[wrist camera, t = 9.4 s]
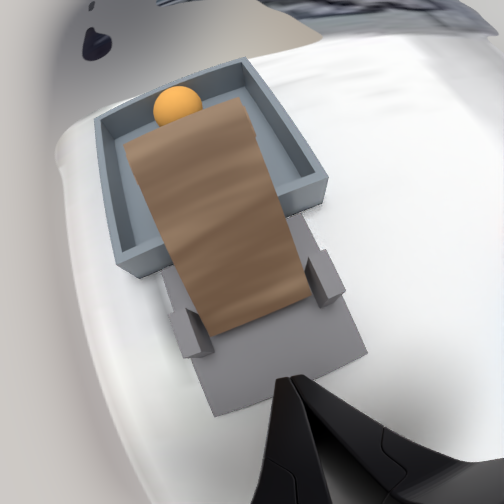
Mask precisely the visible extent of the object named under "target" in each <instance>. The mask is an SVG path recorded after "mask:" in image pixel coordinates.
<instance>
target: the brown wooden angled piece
mask: <svg viewBox="0 0 504 504" xmlns="http://www.w3.org/2000/svg"><path fill="white" fill-rule="evenodd" d="M255 137H256V133H255V131H254V128H253V125H252V123H251V120H250V118H249V115H248V113H247V110H246V108H245V106H243V105H242V103H241V101H240V98H239V97H236V98H234V99H231V100H228V101H225V102H222V103H219V104H216V105H214V106H211V107H208V108H206V109H203V110H200V111H198V112H195V113H193V114H190V115H188V116H185V117H183V118H180V119H178V120H176V121H173V122H171V123H168V124H166V125H164V126H162V127H159V128H157V129H155V130H153V131H150V132H148V133H146V134H144V135H142V136H140V137H137V138H135V139H133V140H131V141H129V142H127V143H125V144H123V147H124V149H125V152H126V154H127V155H126V157H127V160H128V163H129V165H130V168H131V170H132V173H133V175H134V178H135V180H136V182H137V185H139V187H140V189H141V192H142V194H143V196H144V199H145V201H146V203H147V206H148V208H149V210H150V213H151V215H152V217H153V220H154V222H155V224H156V226H157V229H158V231H159V233H160V235H161V238H162V240H163V242H164V244H165V246H166V248H167V251H168V253H169V255H170V257H171V259H172V261H173V263H174V266H175V268H176V270H177V272H178V274H179V276H180V278H181V280H182V282H183V284H184V286H185V288H186V290H187V292H188V294H189V296H190V298H191V300H192V302H193V304H194V306H195V308H196V310H197V312H198V314H199V316H200V318H201V320H202V322H203V324H204V326H205V328H206V330H207V331H208V333H209V335H210V337H212V336H215V335H217V334H220V333H223V332H225V331H228V330H230V329H233V328H235V327H238V326H240V325H243V324H245V323H248V322H250V321H253V320H255V319H257V318H260V317H262V316H265V315H267V314H269V313H272V312H274V311H277V310H279V309H281V308H284V307H286V306H288V305H291V304H293V303H295V302H297V301H300V300H302V299H304V298H307V297H309V296H311V295H312V294H311V291H310V288H309V285H308V282H307V279H306V276H305V273H304V270H303V267H302V264H301V261H300V258H299V255H298V252H297V249H296V246H295V244H294V241H293V238H292V235H291V232H290V229H289V226H288V224H287V221H286V218H285V215H284V213H283V210H282V207H281V204H280V201H279V199H278V196H277V193H276V191H275V188H274V185H273V183H272V180H271V177H270V175H269V172H268V169H267V167H266V164H265V161H264V159H263V156H262V153H261V151H260V148H259V146H258V143H257V141H256V138H255Z"/></svg>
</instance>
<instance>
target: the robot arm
mask: <svg viewBox="0 0 504 504" xmlns="http://www.w3.org/2000/svg"><path fill="white" fill-rule="evenodd" d="M383 427H384V426H383V425H382V424H380V423H378V422H377V421H375V420H373V419H372V418H370V417H369V416H367V415H365V414H364V413H362V412H360V411H359V410H357V409H356V408H354V407H353V406H351V405H349V404H348V403H346V402H345V401H343V400H342V399H340V398H338V397H337V396H335V395H334V394H332V393H331V392H329V391H328V390H326V389H325V388H323V387H322V386H320V385H319V384H317V383H316V382H314V381H313V380H311V379H310V378H308V377H307V376H305V375H303V374H299V375H293V376H291V377H290V378H289V377H282V378H277V379H276V380H275V386H274V393H273V400H272V406H271V413H270V419H269V426H268V432H267V438H266V444H265V450H264V456H263V460H262V466H261V471H260V476H259V480H258V484H257V487H256V490H255V493H254V496H253V498H252V501H251V503H250V504H504V458H500V459H495V460H489V461H483V462H465V461H460V460H457V459H454V458H452V457H449V456H446V455H444V454H441V453H439V452H436V451H434V450H431V449H429V448H426V447H424V446H421V445H419V444H417V443H415V442H413V441H410V440H408V439H406V438H405V437H403V436H401V435H399V434H397V433H395V432H394V431H392V430H390V429H389V428H387V427H384V428H383Z"/></svg>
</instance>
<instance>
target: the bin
mask: <svg viewBox="0 0 504 504" xmlns="http://www.w3.org/2000/svg"><path fill="white" fill-rule="evenodd" d="M175 86H183V87H187V88H190V89H192V90H193V91H195V92H196V93H197V94H198V96H199V97H200V99H201V102H202V106H203V109H206V108H208V107H211V106H214V105H216V104H219V103H222V102H225V101H228V100H231V99H234V98H236V97H239V98H240V101H241V103H242V105H243V106H245V108H246V110H247V113H248V115H249V118H250V120H251V123H252V125H253V128H254V131H255V133H256V137H255V138H256V141H257V143H258V146H259V148H260V151H261V153H262V156H263V159H264V161H265V164H266V167H267V169H268V172H269V175H270V177H271V180H272V183H273V185H274V188H275V191H276V193H277V196H278V199H279V201H280V204H281V207H282V210H283V213H284V215H285V218H286V217H289V216H291V215H294V214H296V213H299V212H301V211H304V210H306V209H309V208H311V207H314V206H316V205H319V204H321V203H323V199H324V195H325V191H326V186H327V182H328V178H329V177H328V175H327V173H326V172H325V170H324V168H323V167H322V165H321V164H320V162H319V160H318V159H317V157H316V156H315V154H314V153H313V151H312V149H311V148H310V146H309V145H308V143H307V142H306V140H305V139H304V137H303V136H302V134H301V133H300V131H299V130H298V128H297V127H296V125H295V124H294V122H293V121H292V119H291V118H290V116H289V115H288V114H287V112H286V111H285V109H284V108H283V106H282V105H281V104H280V102H279V101H278V99H277V98H276V97H275V95H274V94H273V92H272V91H271V90H270V88H269V87H268V86H267V84H266V83H265V82H264V80H263V79H262V78H261V76H260V75H259V74H258V72H257V71H256V70H255V68H254V67H253V66H252V65H251V63H250V62H249V61H248V59H247V58H246V57H243V58H239V59H236V60H233V61H229V62H226V63H223V64H220V65H217V66H214V67H211V68H208V69H205V70H202V71H199V72H197V73H194V74H191V75H188V76H186V77H184V78H181V79H178V80H175V81H173V82H170V83H168V84H166V85H163V86H161V87H158V88H156V89H154V90H151V91H149V92H147V93H145V94H143V95H140V96H138V97H136V98H134V99H132V100H130V101H128V102H125V103H123V104H121V105H119V106H117V107H115V108H113V109H111V110H109V111H108V112H106V113H104V114H102V115H100V116H98V117H96V118H94V126H95V137H96V148H97V157H98V165H99V173H100V180H101V187H102V194H103V200H104V206H105V212H106V218H107V223H108V228H109V234H110V239H111V243H112V248H113V253H114V257H115V262H116V265H117V266H119V267H120V268H122V269H124V270H125V271H127V272H129V273H130V274H132V275H134V276H136V277H137V278H139V279H140V278H142V277H145V276H147V275H149V274H152V273H154V272H156V271H159V270H161V269H163V268H166V267H168V266H170V265H173V264H174V263H173V261H172V259H171V257H170V255H169V253H168V251H167V248H166V246H165V244H164V242H163V240H162V238H161V235H160V233H159V231H158V229H157V226H156V224H155V222H154V220H153V217H152V215H151V213H150V210H149V208H148V206H147V203H146V201H145V199H144V196H143V194H142V192H141V189H140V187H139V185H137V182H136V180H135V178H134V175H133V173H132V170H131V168H130V165H129V163H128V160H127V157H126V155H127V154H126V152H125V149H124V147H123V144H125V143H127V142H129V141H131V140H133V139H135V138H137V137H140V136H142V135H144V134H146V133H148V132H150V131H153V130H155V129H157V128H159V127H160V126H159V125H158V124H157V123H156V121H155V118H154V114H153V109H154V104H155V101H156V99H157V98H158V96H159V95H160V94H161V93H162V92H163V91H165V90H167V89H169V88H171V87H175Z"/></svg>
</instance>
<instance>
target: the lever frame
mask: <svg viewBox="0 0 504 504" xmlns="http://www.w3.org/2000/svg"><path fill="white" fill-rule="evenodd" d="M286 221H287V224H288V226H289V229H290V232H291V235H292V238H293V241H294V244H295V246H296V249H297V252H298V255H299V258H300V261H301V264H302V267H303V270H304V273H305V276H306V279H307V282H308V285H309V288H310V291H311V294H312V295H311V296H309V297H307V298H304V299H302V300H300V301H297V302H295V303H293V304H291V305H288V306H286V307H284V308H281V309H279V310H277V311H274V312H272V313H269V314H267V315H265V316H262V317H260V318H257V319H255V320H253V321H250V322H248V323H245V324H243V325H240V326H238V327H235V328H233V329H230V330H228V331H225V332H223V333H220V334H217V335H215V336H212V337H210V335H209V333H208V331H207V330H206V328H205V326H204V324H203V322H202V320H201V318H200V316H199V314H198V312H197V310H196V308H195V306H194V304H193V302H192V300H191V298H190V296H189V294H188V292H187V290H186V288H185V286H184V284H183V282H182V280H181V278H180V276H179V274H178V272H177V270H176V268H175V266H171V267H169V268H167V269H164V270H162V271H161V273H162V276H163V279H164V282H165V286H166V289H167V292H168V295H169V298H170V301H171V304H172V307H173V310H174V312H173V313H170V314H168V316H169V319H170V322H171V325H172V328H173V331H174V334H175V337H176V340H177V342H178V345H179V348H180V351H181V353H182V356H183V358H191V360H192V363H193V366H194V368H195V371H196V373H197V376H198V379H199V381H200V384H201V386H202V389H203V391H204V393H205V396H206V398H207V401H208V403H209V405H210V408H211V410H212V413H213V415H214V417H217V416H220V415H223V414H226V413H229V412H232V411H235V410H238V409H241V408H244V407H247V406H249V405H252V404H255V403H258V402H260V401H263V400H266V399H268V398H271V397H273V393H274V386H275V380H276V379H277V378H282V377H289V378H290V377H291V376H293V375H299V374H303V375H305V376H307V377H308V378H310V379H311V380H314V379H316V378H318V377H321V376H323V375H325V374H327V373H329V372H331V371H334V370H336V369H338V368H340V367H342V366H344V365H346V364H348V363H350V362H352V361H354V360H356V359H358V358H360V357H362V356H364V355H366V354H368V352H367V350H366V348H365V345H364V343H363V341H362V339H361V336H360V334H359V332H358V329H357V327H356V325H355V323H354V321H353V318H352V316H351V314H350V312H349V310H348V307H347V305H346V303H345V301H344V299H343V297H342V294H343V293H344V292H345V291H346V289H345V287H344V285H343V283H342V281H341V279H340V277H339V275H338V273H337V271H336V269H335V267H334V265H333V263H332V261H331V259H330V257H329V255H328V252H327V251H326V249H325V250H322V251H320V249H319V247H318V245H317V243H316V241H315V239H314V237H313V235H312V233H311V231H310V229H309V227H308V225H307V223H306V221H305V219H304V218H303V216H302V214H301V213H299V214H297V215H294V216H292V217H290V218H287V219H286Z"/></svg>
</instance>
